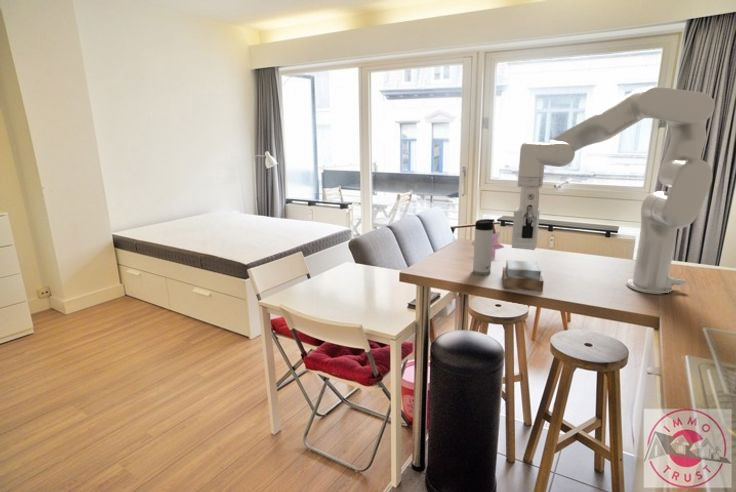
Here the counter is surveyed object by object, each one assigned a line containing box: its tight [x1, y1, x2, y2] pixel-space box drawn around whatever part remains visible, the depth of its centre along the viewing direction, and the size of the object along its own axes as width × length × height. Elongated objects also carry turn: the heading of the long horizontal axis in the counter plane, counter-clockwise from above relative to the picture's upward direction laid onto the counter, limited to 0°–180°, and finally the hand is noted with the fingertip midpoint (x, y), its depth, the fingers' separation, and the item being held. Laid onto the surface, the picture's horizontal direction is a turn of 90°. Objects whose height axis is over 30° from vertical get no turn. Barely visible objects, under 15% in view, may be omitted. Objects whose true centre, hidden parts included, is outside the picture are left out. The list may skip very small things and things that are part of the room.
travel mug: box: [472, 218, 496, 276], centre depth 155 cm, size 6×7×20 cm
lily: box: [471, 231, 505, 261], centre depth 177 cm, size 12×12×10 cm
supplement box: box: [511, 206, 541, 251], centre depth 141 cm, size 7×7×13 cm
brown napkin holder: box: [501, 259, 544, 292], centre depth 146 cm, size 12×12×6 cm
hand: (525, 234), depth 142 cm, fingers closed on supplement box, 8 cm apart
